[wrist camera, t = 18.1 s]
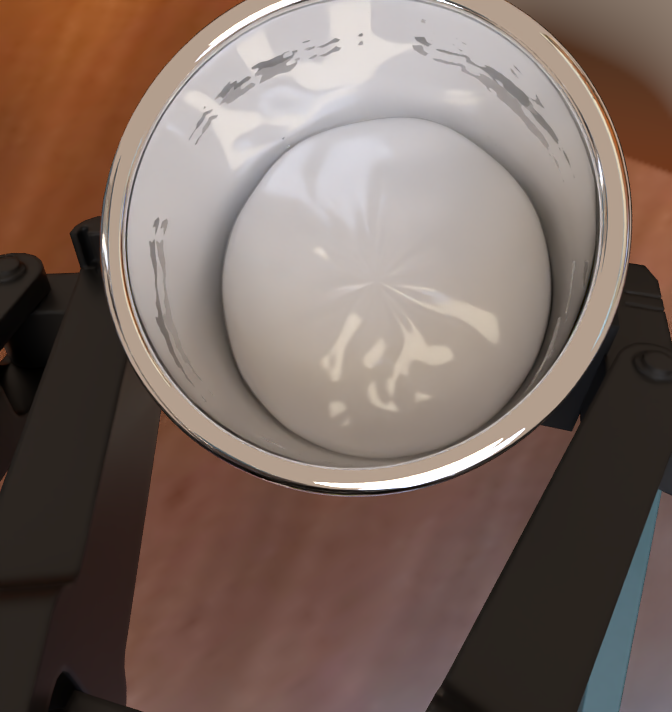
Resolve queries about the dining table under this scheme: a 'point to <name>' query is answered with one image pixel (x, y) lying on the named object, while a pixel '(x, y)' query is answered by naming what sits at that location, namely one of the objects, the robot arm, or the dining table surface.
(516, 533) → the dining table surface
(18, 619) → the robot arm
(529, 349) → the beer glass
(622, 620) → the box
